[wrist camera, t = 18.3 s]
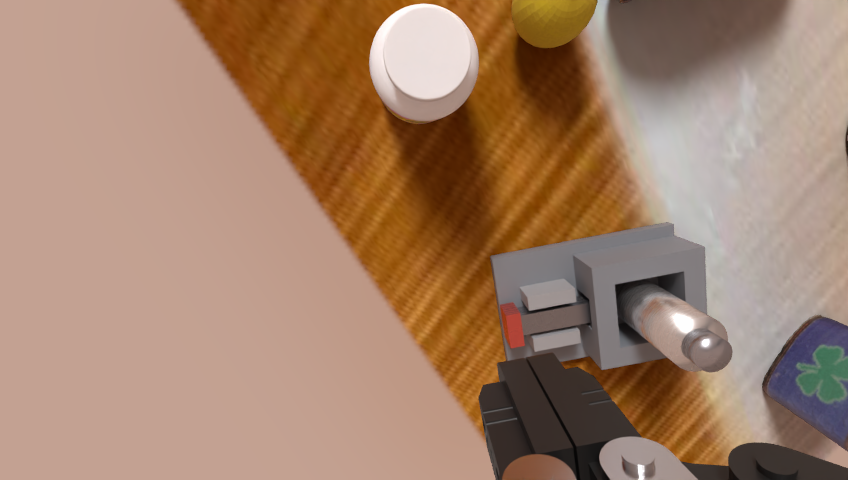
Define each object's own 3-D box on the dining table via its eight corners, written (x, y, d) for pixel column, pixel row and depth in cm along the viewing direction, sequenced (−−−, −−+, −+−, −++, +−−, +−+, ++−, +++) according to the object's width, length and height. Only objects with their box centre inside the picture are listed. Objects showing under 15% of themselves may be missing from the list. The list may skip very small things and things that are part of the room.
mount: (667, 222, 39) (704, 234, 34) (673, 334, 42) (708, 360, 37) (489, 255, 39) (502, 273, 34) (507, 366, 42) (520, 396, 37)
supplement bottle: (365, 106, 36) (344, 90, 23) (394, 24, 34) (388, -40, 22) (442, 136, 37) (461, 137, 24) (472, 57, 35) (509, 14, 23)
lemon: (560, 62, 36) (604, 42, 28) (494, 48, 35) (520, 24, 27) (578, -12, 34) (629, -55, 27) (510, -27, 34) (541, -75, 26)
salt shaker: (646, 268, 39) (744, 320, 28) (649, 309, 40) (745, 377, 29) (601, 276, 39) (681, 332, 28) (605, 317, 40) (684, 388, 29)
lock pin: (602, 284, 38) (616, 294, 36) (605, 315, 39) (619, 327, 37) (499, 304, 39) (505, 315, 36) (504, 335, 39) (510, 348, 37)
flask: (775, 398, 44) (890, 480, 33) (752, 386, 43) (861, 465, 33) (834, 321, 42) (975, 381, 32) (810, 308, 42) (946, 364, 31)
